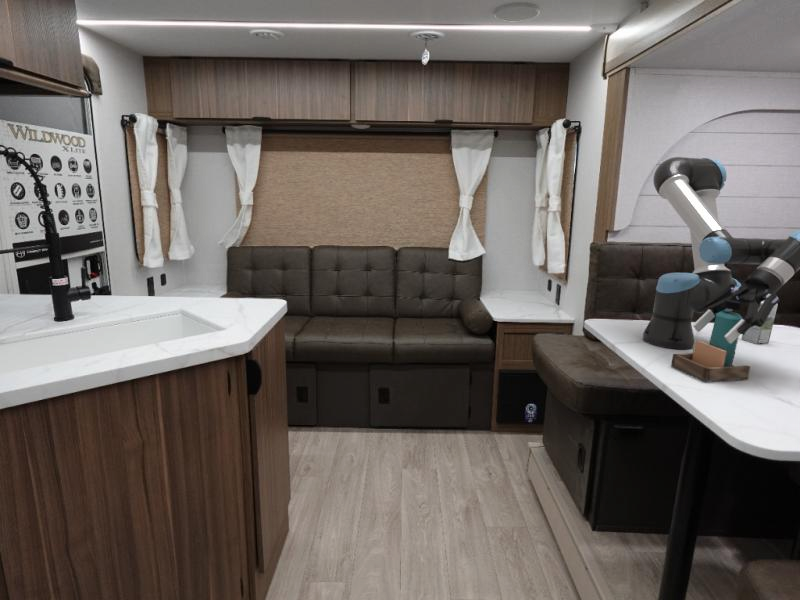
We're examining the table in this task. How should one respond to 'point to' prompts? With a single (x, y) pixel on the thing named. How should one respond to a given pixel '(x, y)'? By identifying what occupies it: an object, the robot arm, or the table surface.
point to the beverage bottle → (726, 330)
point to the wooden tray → (708, 370)
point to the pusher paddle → (708, 355)
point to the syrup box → (761, 329)
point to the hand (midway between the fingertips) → (711, 334)
